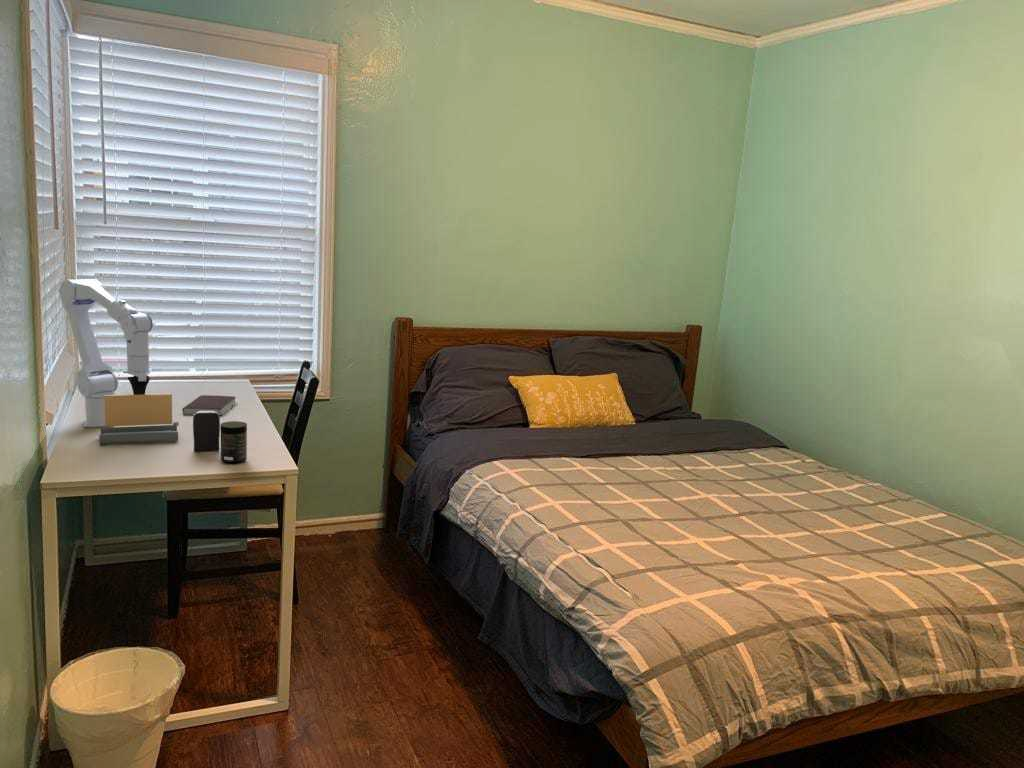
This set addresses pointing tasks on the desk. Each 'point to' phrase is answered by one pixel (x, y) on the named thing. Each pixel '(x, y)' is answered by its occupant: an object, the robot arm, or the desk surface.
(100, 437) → the grey tray with rod
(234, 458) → the supplement container
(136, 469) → the desk surface
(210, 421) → the battery charger
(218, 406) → the book
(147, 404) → the cover
